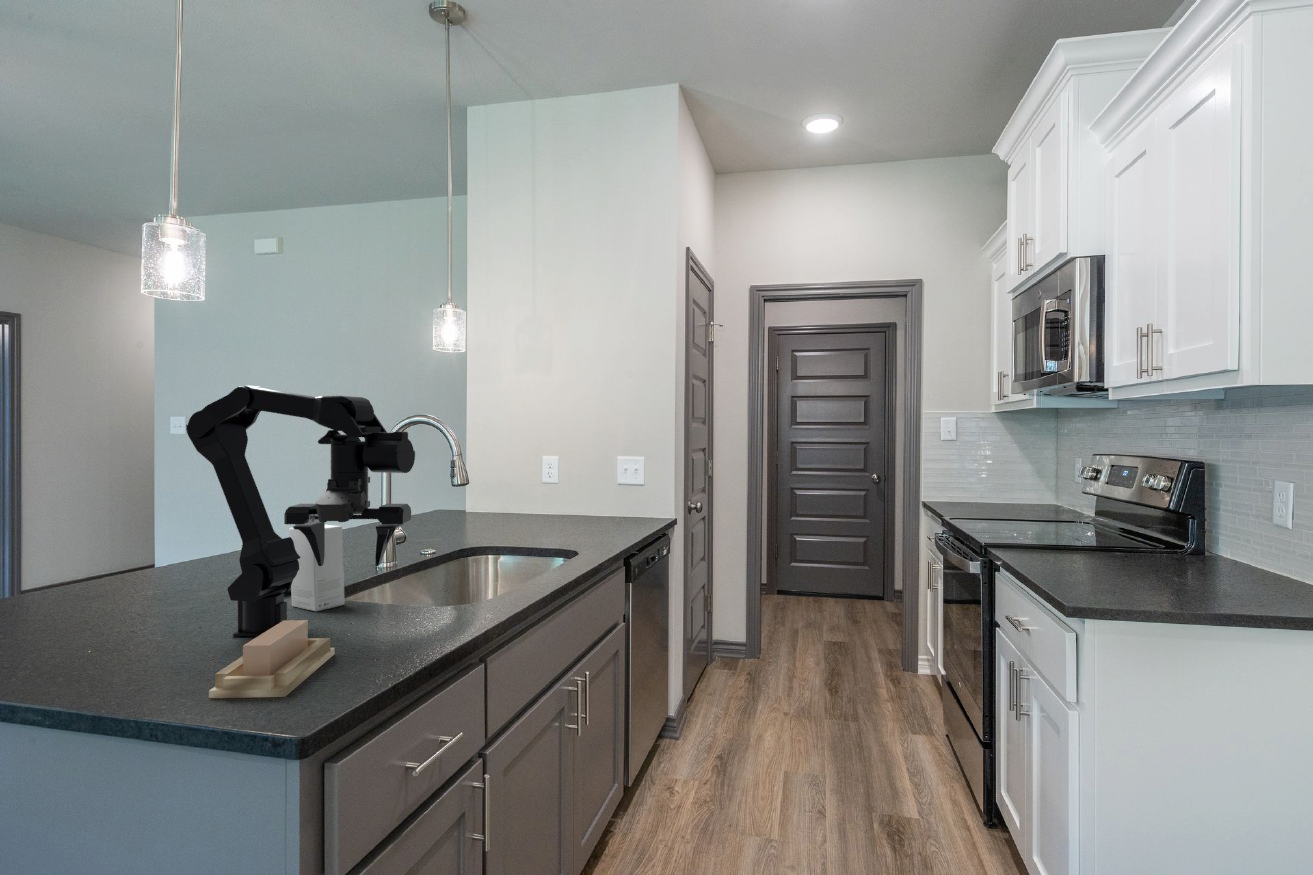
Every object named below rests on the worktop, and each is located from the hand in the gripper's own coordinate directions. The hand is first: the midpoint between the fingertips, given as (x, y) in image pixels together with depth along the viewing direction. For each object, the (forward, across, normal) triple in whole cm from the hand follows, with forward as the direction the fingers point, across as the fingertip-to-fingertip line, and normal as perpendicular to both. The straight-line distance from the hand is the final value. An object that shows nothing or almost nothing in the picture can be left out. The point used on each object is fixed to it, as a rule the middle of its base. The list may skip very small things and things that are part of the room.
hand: (349, 565), depth 117 cm
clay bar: (+11, -4, -17) cm, 21 cm away
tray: (+12, -4, -17) cm, 21 cm away
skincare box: (+12, -13, +21) cm, 28 cm away
